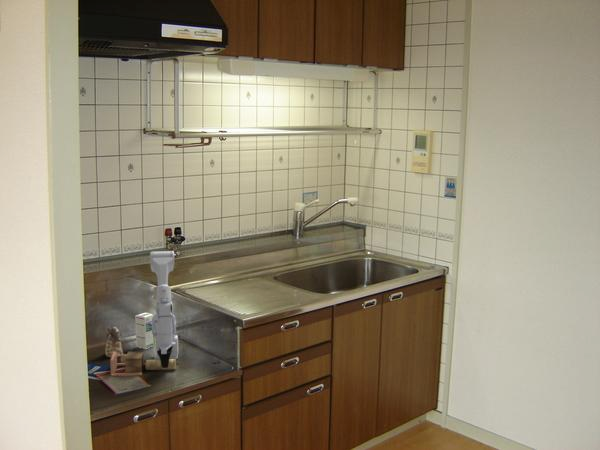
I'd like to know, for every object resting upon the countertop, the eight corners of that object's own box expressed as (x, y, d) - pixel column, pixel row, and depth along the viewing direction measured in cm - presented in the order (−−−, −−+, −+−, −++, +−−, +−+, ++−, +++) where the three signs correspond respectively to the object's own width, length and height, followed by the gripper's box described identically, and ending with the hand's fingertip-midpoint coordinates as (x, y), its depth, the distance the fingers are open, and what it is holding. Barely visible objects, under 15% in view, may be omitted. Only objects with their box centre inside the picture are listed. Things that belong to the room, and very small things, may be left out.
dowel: (176, 367, 282) (175, 357, 281) (175, 370, 278) (175, 361, 277) (146, 367, 280) (146, 358, 280) (145, 371, 276) (145, 361, 276)
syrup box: (145, 349, 301) (145, 317, 299) (135, 347, 305) (135, 314, 302) (155, 346, 306) (154, 313, 304) (145, 343, 309) (144, 311, 307)
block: (143, 365, 282) (143, 351, 282) (141, 373, 274) (140, 358, 273) (128, 365, 282) (127, 351, 281) (125, 373, 273) (125, 359, 272)
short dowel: (141, 363, 287) (141, 356, 290) (140, 359, 285) (141, 352, 287) (121, 364, 287) (121, 357, 289) (120, 359, 284) (121, 352, 286)
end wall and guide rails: (145, 364, 284) (144, 349, 283) (142, 375, 272) (141, 360, 271) (114, 365, 283) (114, 350, 282) (110, 376, 271) (109, 361, 270)
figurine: (120, 357, 292) (119, 329, 290) (103, 357, 292) (102, 329, 290) (125, 351, 299) (124, 324, 297) (108, 351, 299) (107, 324, 297)
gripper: (174, 337, 270) (174, 371, 272) (176, 326, 284) (176, 358, 287) (155, 338, 269) (156, 372, 271) (158, 327, 284) (159, 359, 286)
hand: (165, 365), depth 279 cm, fingers closed on dowel, 4 cm apart
